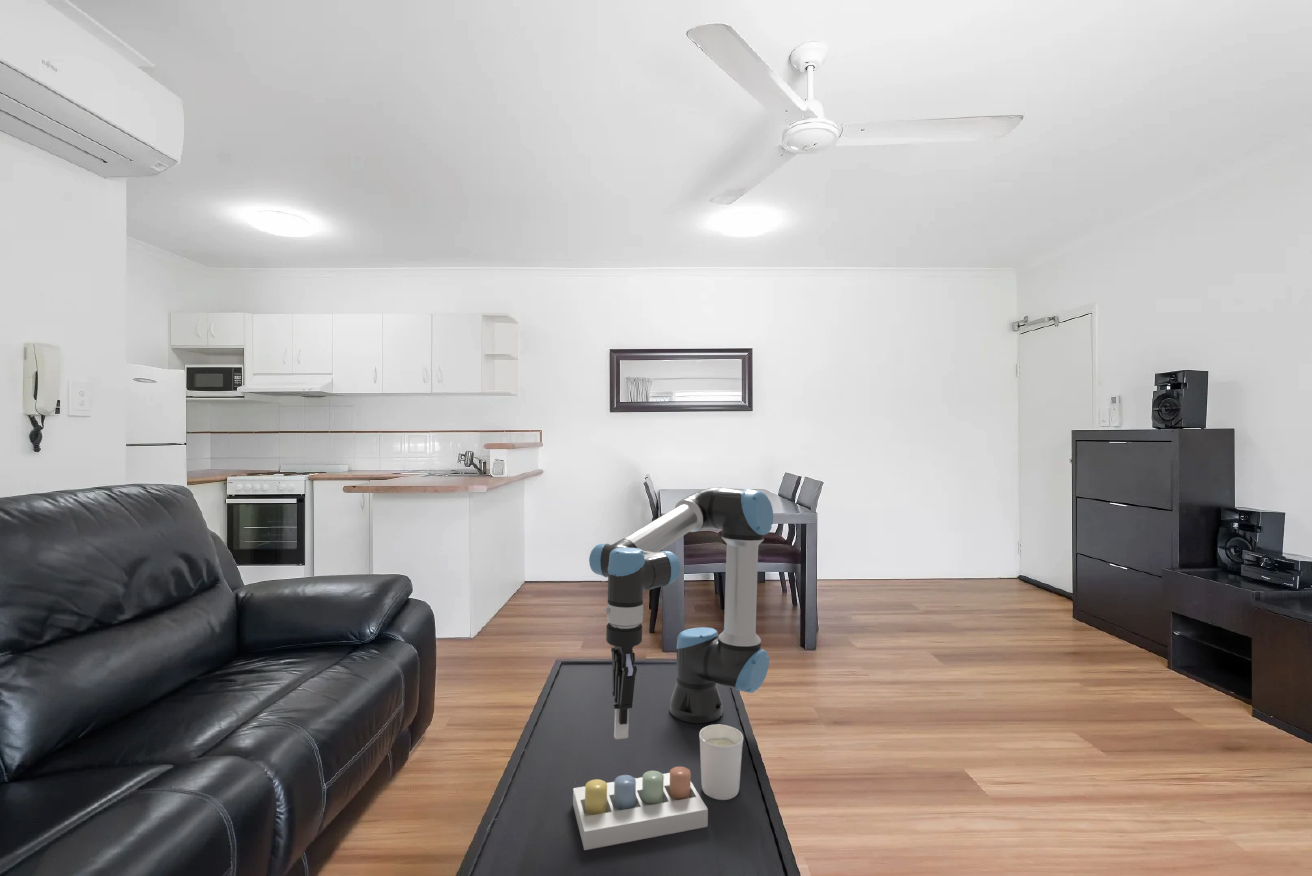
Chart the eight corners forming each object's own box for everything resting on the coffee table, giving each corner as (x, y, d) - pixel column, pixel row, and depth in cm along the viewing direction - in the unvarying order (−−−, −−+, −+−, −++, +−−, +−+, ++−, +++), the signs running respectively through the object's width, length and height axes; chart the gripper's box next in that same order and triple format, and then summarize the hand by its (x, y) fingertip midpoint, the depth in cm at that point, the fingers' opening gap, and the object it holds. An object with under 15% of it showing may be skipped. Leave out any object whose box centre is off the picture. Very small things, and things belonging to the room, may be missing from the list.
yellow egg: (604, 799, 118) (604, 777, 118) (608, 813, 114) (609, 790, 114) (583, 803, 116) (583, 781, 117) (586, 816, 112) (587, 793, 112)
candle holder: (731, 808, 120) (732, 751, 121) (690, 792, 126) (691, 737, 126) (749, 785, 129) (750, 731, 129) (710, 771, 134) (711, 720, 134)
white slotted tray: (684, 786, 128) (684, 770, 128) (707, 826, 115) (707, 809, 115) (572, 804, 121) (573, 788, 121) (584, 850, 107) (584, 831, 107)
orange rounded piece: (686, 786, 123) (686, 765, 123) (693, 798, 119) (693, 776, 119) (666, 789, 122) (667, 768, 122) (673, 801, 118) (673, 779, 118)
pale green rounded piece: (659, 790, 121) (660, 769, 121) (666, 803, 117) (666, 781, 117) (639, 793, 120) (640, 772, 120) (645, 806, 116) (645, 784, 116)
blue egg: (632, 794, 120) (632, 773, 120) (637, 807, 115) (638, 785, 115) (611, 798, 118) (612, 776, 118) (616, 811, 114) (617, 789, 114)
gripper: (601, 615, 125) (597, 724, 124) (613, 634, 112) (609, 755, 112) (634, 613, 127) (630, 720, 126) (650, 631, 114) (646, 750, 114)
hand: (621, 736), depth 119 cm, fingers closed
